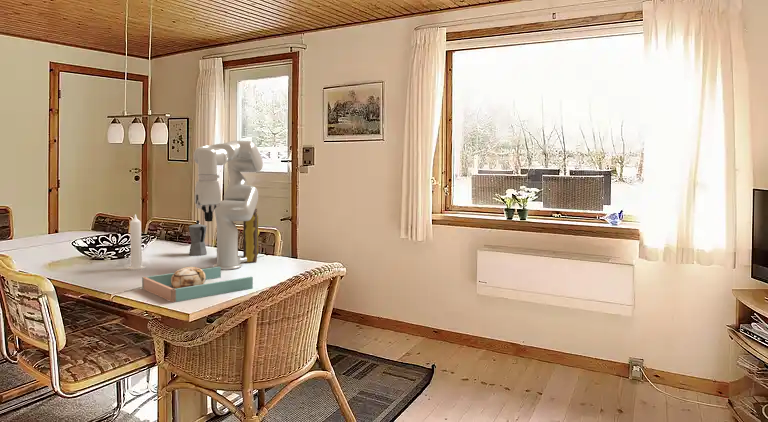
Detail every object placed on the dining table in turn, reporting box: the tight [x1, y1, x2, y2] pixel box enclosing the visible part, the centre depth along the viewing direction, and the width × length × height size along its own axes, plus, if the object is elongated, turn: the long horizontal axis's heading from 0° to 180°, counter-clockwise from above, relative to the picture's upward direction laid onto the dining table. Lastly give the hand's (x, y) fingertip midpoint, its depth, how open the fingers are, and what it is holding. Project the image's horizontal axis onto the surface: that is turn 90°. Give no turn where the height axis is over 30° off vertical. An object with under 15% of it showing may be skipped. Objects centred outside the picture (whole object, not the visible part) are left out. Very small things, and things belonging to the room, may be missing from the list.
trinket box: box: [171, 266, 206, 289], centre depth 219 cm, size 13×15×8 cm
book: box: [242, 208, 260, 264], centre depth 279 cm, size 22×8×25 cm, turn 12°
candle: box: [127, 213, 146, 271], centre depth 249 cm, size 7×7×25 cm
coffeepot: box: [188, 220, 208, 257], centre depth 287 cm, size 15×9×18 cm, turn 37°
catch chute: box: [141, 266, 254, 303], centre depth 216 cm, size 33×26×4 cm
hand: (208, 220), depth 233 cm, fingers closed
